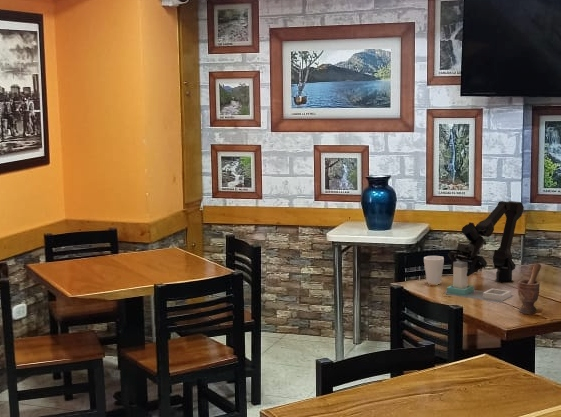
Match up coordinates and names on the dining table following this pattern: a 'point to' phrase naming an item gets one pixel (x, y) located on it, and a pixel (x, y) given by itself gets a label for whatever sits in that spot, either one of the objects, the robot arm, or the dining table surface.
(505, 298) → the socket board
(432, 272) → the foam cup
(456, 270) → the plug block
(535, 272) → the mortar and pestle
